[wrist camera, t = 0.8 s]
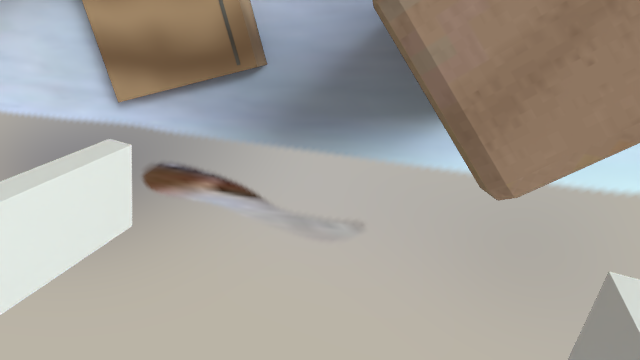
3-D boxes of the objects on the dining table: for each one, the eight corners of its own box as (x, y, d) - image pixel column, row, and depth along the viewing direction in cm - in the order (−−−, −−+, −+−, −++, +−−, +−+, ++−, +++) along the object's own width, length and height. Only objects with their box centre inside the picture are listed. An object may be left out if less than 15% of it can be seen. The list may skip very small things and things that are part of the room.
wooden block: (622, 38, 32) (820, 75, 14) (482, 114, 36) (493, 218, 18) (551, -98, 31) (667, -254, 13) (414, -4, 35) (353, -19, 17)
